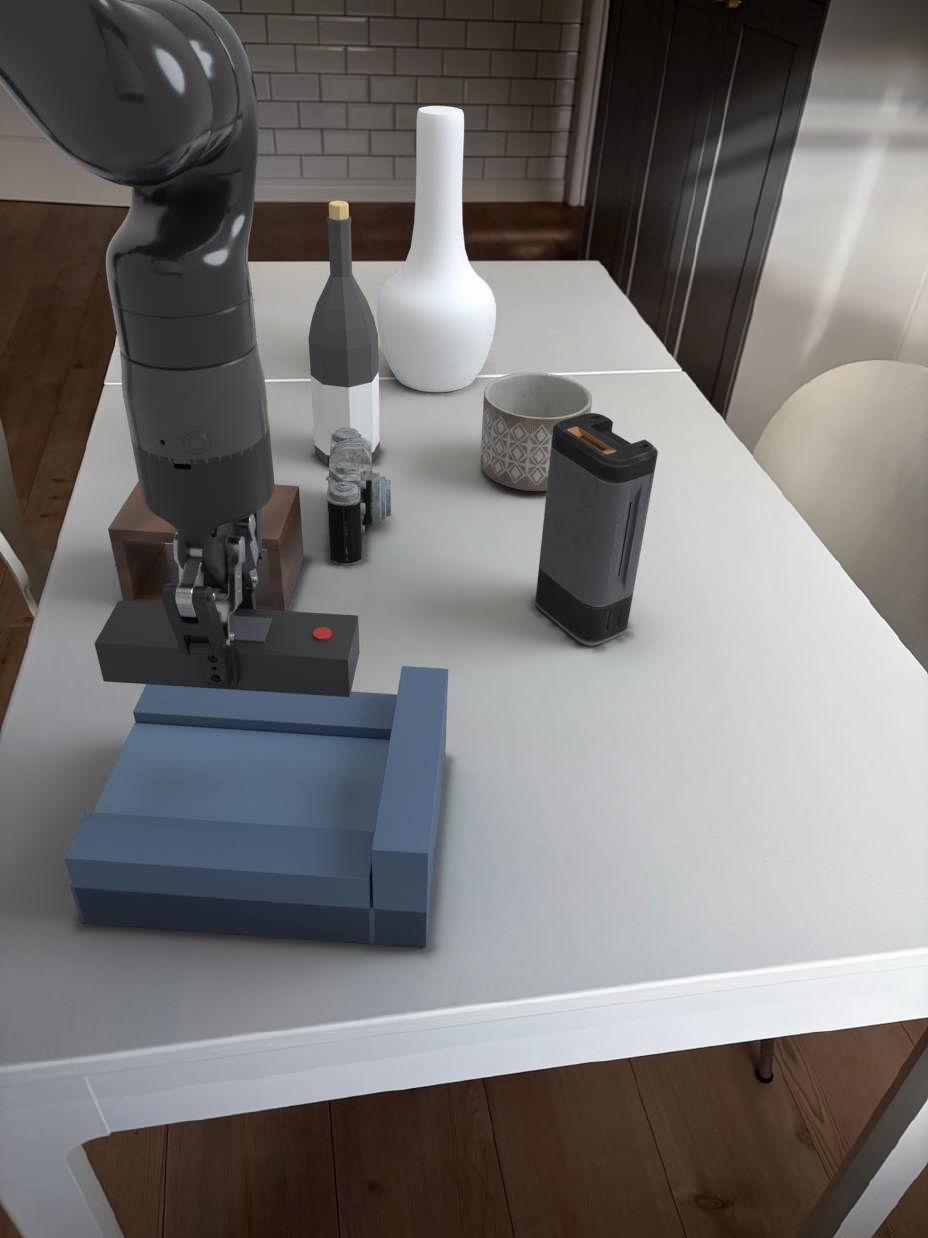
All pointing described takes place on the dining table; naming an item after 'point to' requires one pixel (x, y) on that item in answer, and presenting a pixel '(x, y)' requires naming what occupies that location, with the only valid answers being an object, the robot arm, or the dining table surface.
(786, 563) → the dining table surface
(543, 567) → the electronic device
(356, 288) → the wine bottle
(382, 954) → the dining table surface
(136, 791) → the sofa
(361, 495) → the camera
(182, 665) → the remote
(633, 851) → the dining table surface
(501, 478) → the planter
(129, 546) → the shelf
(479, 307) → the vase
